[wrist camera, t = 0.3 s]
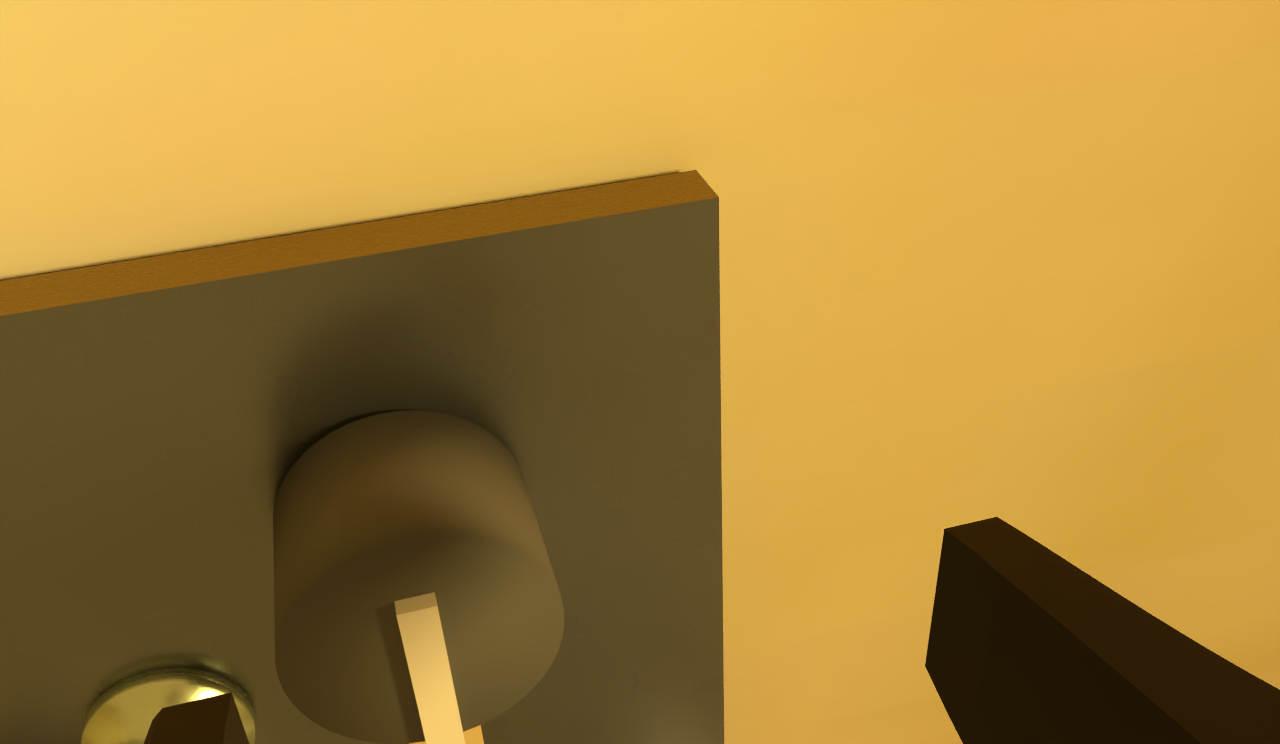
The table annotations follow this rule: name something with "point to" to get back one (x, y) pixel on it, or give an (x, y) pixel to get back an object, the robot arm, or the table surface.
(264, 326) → the levelling plate
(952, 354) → the table surface
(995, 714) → the robot arm
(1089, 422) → the table surface
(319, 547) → the knob
